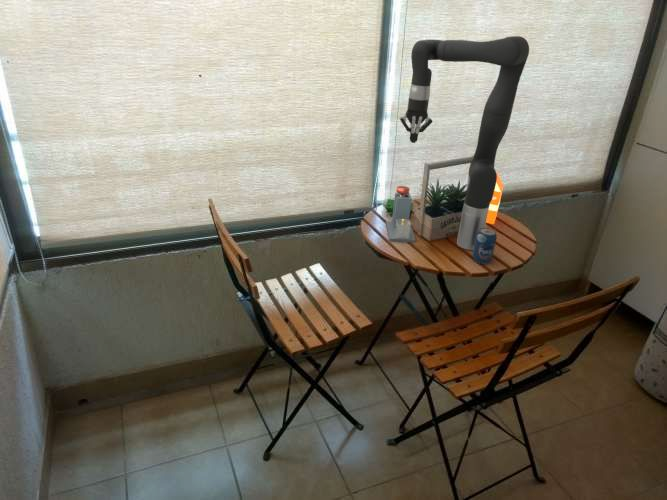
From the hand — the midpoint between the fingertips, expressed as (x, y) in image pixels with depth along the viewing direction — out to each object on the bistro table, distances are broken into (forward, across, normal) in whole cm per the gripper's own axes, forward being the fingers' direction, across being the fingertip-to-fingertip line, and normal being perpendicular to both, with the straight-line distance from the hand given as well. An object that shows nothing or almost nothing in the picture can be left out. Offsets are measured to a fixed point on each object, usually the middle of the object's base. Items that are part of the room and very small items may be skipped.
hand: (413, 142), depth 198 cm
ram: (+30, +3, +7) cm, 31 cm away
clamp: (+34, +1, -5) cm, 35 cm away
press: (+34, +3, +12) cm, 36 cm away
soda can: (+34, -25, +32) cm, 53 cm away
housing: (+33, +3, +17) cm, 37 cm away
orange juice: (+34, -38, -5) cm, 51 cm away
